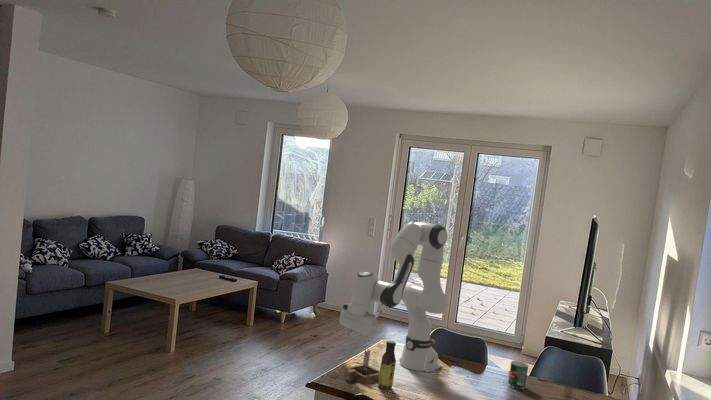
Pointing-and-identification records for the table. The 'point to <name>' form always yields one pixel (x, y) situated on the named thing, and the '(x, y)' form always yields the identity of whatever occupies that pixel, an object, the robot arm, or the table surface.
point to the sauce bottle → (387, 367)
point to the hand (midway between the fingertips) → (355, 340)
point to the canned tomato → (518, 374)
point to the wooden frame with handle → (354, 374)
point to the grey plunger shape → (365, 362)
